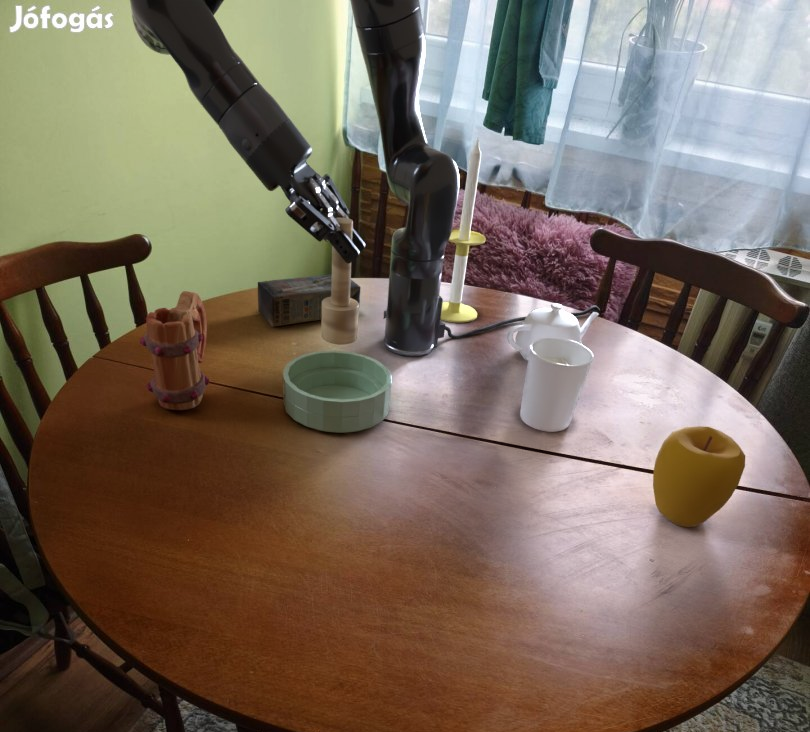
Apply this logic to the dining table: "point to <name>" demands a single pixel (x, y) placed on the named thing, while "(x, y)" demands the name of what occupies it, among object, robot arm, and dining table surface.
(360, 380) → the bowl
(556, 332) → the teapot
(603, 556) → the dining table surface
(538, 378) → the white cup
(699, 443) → the apple
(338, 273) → the wooden masher
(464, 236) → the candle
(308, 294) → the beverage carton
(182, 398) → the mug
